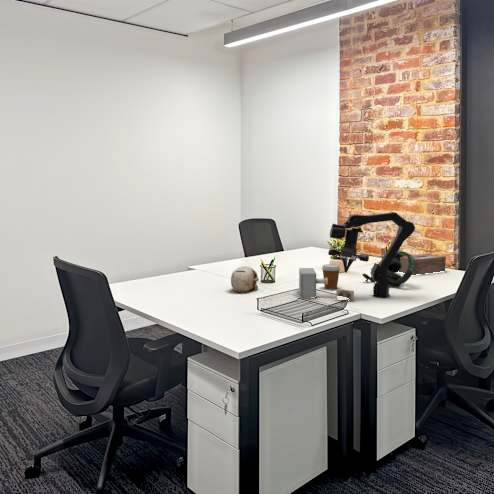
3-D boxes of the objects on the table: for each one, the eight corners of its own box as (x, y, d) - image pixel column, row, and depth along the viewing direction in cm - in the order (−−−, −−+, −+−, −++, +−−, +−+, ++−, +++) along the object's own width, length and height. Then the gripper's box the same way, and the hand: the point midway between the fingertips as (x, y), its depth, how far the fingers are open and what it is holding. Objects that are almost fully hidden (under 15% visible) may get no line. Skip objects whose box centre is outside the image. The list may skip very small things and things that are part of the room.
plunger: (326, 283, 256) (326, 276, 255) (327, 285, 252) (327, 278, 252) (314, 283, 256) (314, 276, 256) (315, 285, 253) (315, 278, 252)
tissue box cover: (413, 276, 306) (413, 259, 305) (395, 273, 319) (396, 256, 318) (445, 272, 318) (445, 256, 316) (427, 269, 330) (427, 253, 329)
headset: (379, 298, 288) (419, 280, 266) (360, 289, 283) (399, 271, 261) (379, 269, 298) (418, 250, 275) (361, 261, 293) (399, 240, 270)
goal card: (353, 301, 244) (353, 290, 243) (352, 301, 242) (352, 291, 242) (336, 299, 247) (337, 289, 247) (336, 300, 246) (336, 289, 245)
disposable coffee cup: (325, 290, 268) (325, 267, 267) (319, 287, 277) (319, 264, 276) (342, 289, 270) (343, 266, 268) (336, 286, 279) (336, 263, 278)
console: (314, 291, 266) (314, 268, 265) (317, 298, 250) (317, 273, 249) (299, 291, 267) (299, 268, 265) (301, 298, 251) (301, 273, 249)
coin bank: (254, 285, 282) (254, 261, 278) (264, 295, 265) (263, 270, 262) (226, 288, 278) (225, 264, 275) (234, 298, 261) (233, 273, 258)
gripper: (328, 238, 247) (323, 270, 249) (368, 245, 240) (362, 278, 242) (333, 237, 257) (328, 268, 259) (371, 243, 251) (366, 275, 253)
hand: (345, 272), depth 253 cm, fingers closed
